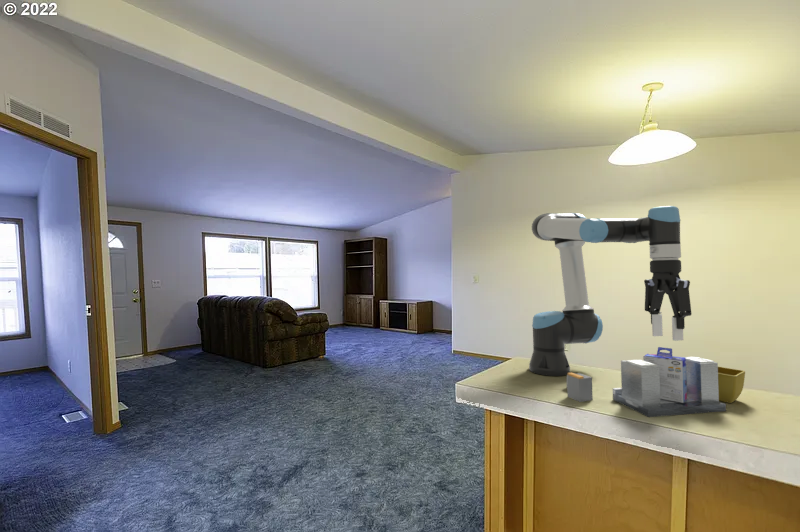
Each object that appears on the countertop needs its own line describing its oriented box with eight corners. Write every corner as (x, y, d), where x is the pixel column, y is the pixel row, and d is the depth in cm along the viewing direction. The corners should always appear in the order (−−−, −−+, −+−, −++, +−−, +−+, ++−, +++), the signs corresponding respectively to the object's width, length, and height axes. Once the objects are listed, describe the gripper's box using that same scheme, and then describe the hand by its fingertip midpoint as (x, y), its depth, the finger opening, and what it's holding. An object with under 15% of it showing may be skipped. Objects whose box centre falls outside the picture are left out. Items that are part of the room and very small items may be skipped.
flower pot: (736, 407, 108) (735, 375, 108) (699, 398, 115) (699, 369, 115) (746, 400, 112) (745, 370, 113) (710, 393, 120) (709, 365, 120)
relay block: (567, 396, 119) (567, 373, 119) (580, 395, 120) (579, 371, 121) (579, 402, 114) (578, 377, 114) (592, 400, 116) (591, 375, 116)
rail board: (612, 399, 116) (611, 356, 116) (682, 394, 119) (680, 352, 119) (648, 417, 102) (646, 367, 102) (726, 411, 105) (724, 363, 105)
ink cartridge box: (688, 399, 109) (686, 349, 109) (685, 404, 105) (683, 352, 105) (648, 391, 116) (646, 345, 116) (643, 396, 112) (642, 347, 112)
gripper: (629, 260, 119) (631, 333, 119) (682, 258, 100) (685, 345, 99) (650, 260, 120) (652, 332, 119) (707, 258, 101) (710, 343, 100)
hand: (667, 337), depth 109 cm, fingers open, 6 cm apart
